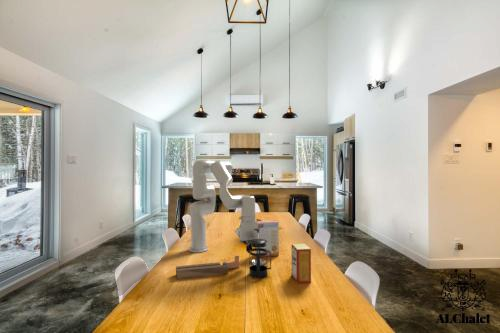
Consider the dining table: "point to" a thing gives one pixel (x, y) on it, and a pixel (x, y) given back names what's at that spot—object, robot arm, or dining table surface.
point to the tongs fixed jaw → (202, 271)
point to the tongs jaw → (196, 266)
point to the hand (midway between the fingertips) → (249, 252)
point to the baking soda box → (301, 263)
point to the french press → (258, 258)
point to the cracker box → (269, 236)
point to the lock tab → (234, 262)
